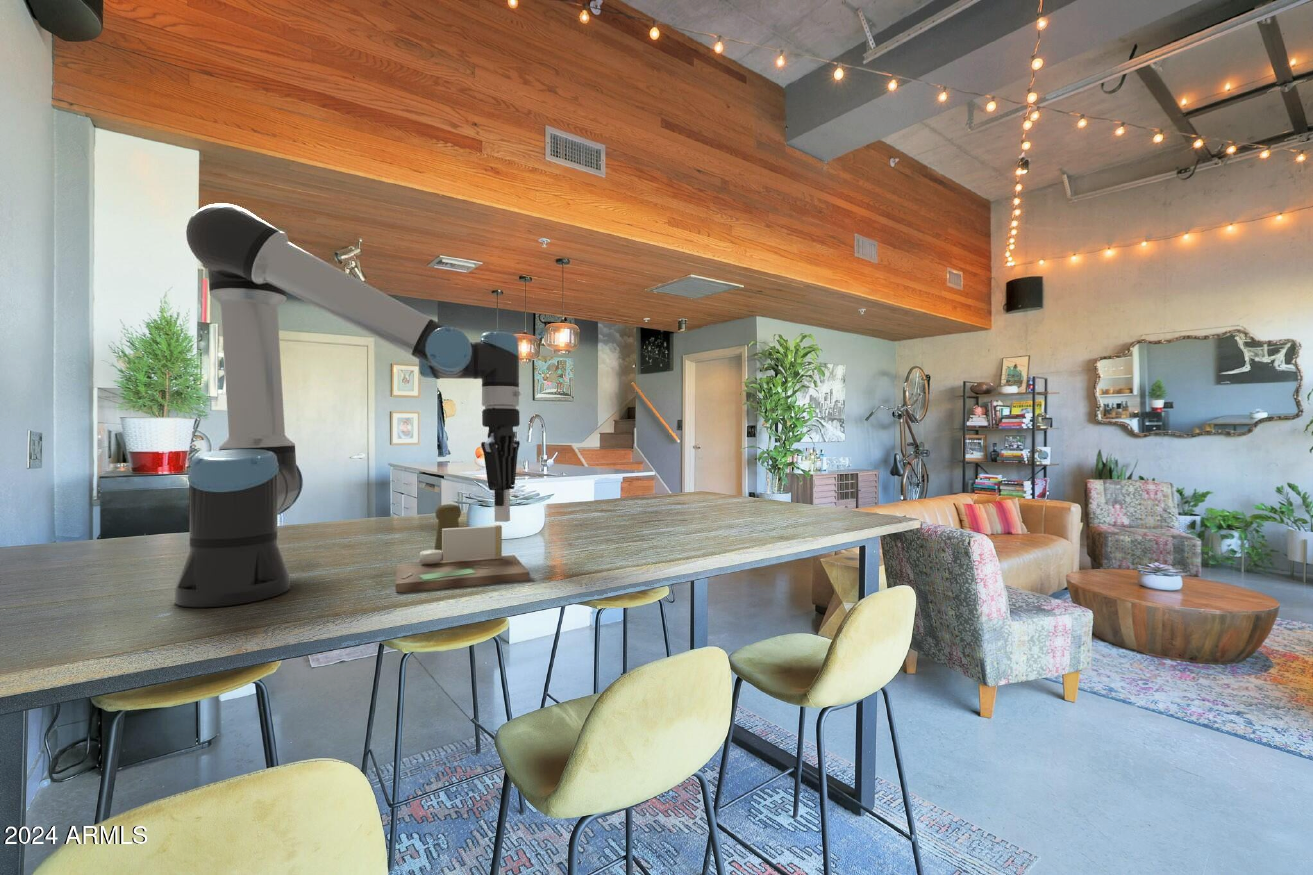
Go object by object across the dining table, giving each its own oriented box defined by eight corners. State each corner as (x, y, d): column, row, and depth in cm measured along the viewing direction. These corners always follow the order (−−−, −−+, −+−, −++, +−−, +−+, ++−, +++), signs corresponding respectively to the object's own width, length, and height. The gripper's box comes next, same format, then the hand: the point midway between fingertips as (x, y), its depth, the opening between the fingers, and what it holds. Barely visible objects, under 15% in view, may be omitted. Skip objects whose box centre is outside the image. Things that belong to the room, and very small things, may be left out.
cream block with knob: (420, 564, 109) (420, 531, 109) (419, 560, 113) (419, 528, 113) (502, 557, 115) (502, 526, 115) (499, 554, 119) (499, 524, 119)
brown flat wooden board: (395, 592, 97) (395, 582, 97) (396, 571, 112) (397, 563, 112) (529, 580, 106) (529, 571, 106) (514, 562, 121) (514, 554, 121)
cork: (453, 558, 124) (453, 506, 124) (427, 557, 125) (427, 505, 125) (468, 553, 130) (468, 503, 130) (443, 551, 131) (443, 502, 131)
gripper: (503, 406, 115) (504, 526, 115) (530, 408, 128) (532, 517, 128) (468, 407, 117) (469, 525, 117) (498, 409, 129) (500, 516, 130)
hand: (502, 521), depth 123 cm, fingers closed
